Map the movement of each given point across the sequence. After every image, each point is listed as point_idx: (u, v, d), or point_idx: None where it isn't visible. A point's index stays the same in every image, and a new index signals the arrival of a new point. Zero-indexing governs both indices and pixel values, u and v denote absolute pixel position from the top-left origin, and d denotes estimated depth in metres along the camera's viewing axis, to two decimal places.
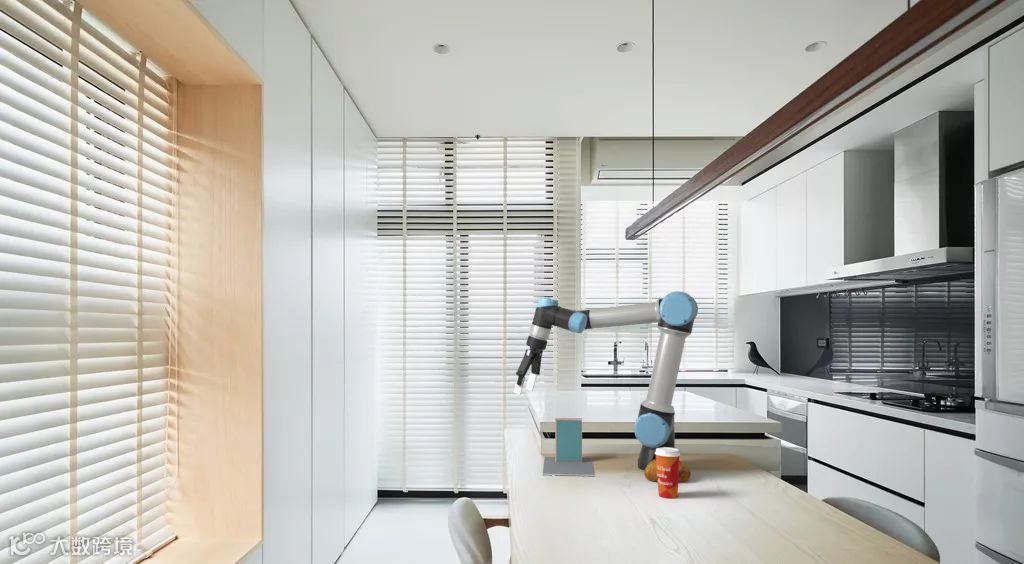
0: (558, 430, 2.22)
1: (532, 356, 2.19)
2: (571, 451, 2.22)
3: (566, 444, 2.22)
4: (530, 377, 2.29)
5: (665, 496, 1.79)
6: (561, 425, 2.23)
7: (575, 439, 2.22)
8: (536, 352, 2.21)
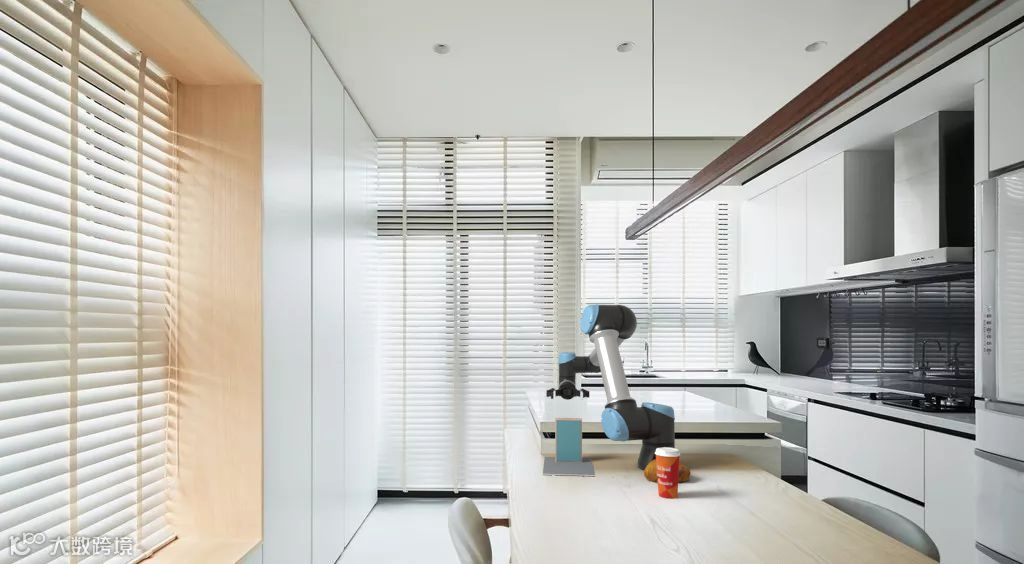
0: (558, 430, 2.22)
1: None
2: (571, 451, 2.22)
3: (566, 444, 2.22)
4: (580, 396, 2.37)
5: (665, 496, 1.79)
6: (561, 425, 2.23)
7: (575, 439, 2.22)
8: (565, 388, 2.49)
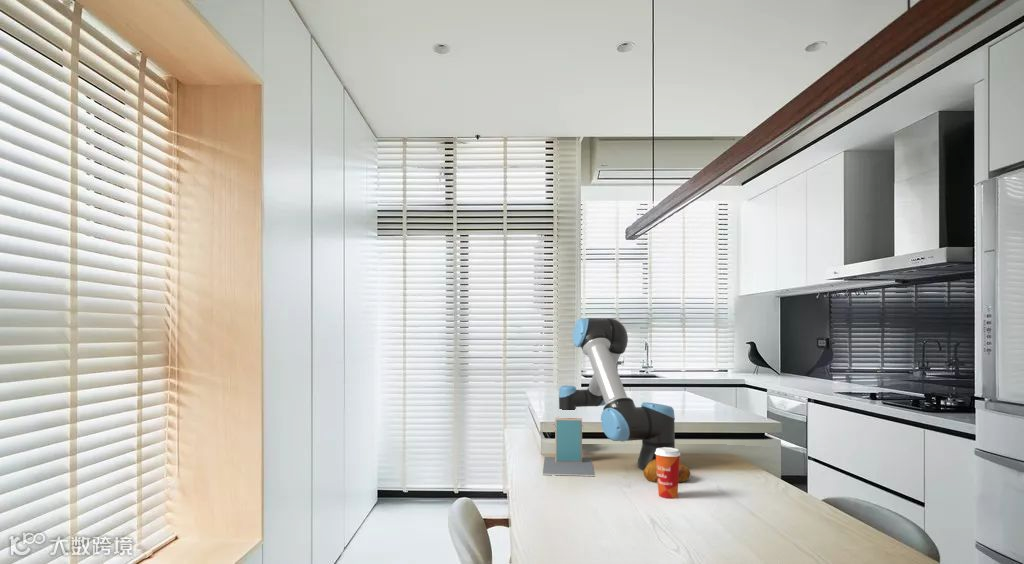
0: (558, 430, 2.22)
1: None
2: (571, 451, 2.22)
3: (566, 444, 2.22)
4: None
5: (665, 496, 1.79)
6: (561, 425, 2.23)
7: (575, 439, 2.22)
8: None
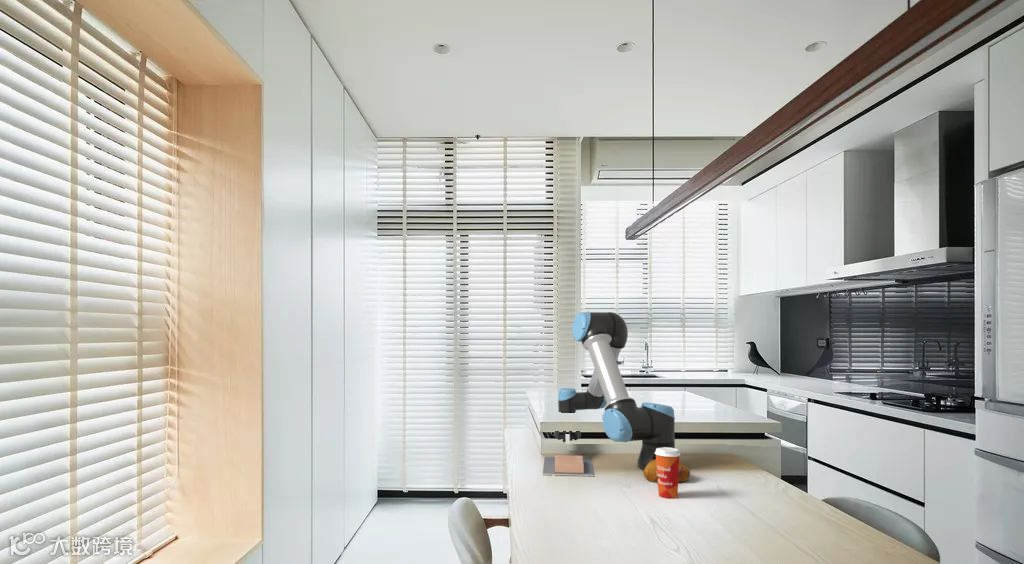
0: None
1: None
2: None
3: None
4: None
5: (665, 496, 1.79)
6: None
7: None
8: None
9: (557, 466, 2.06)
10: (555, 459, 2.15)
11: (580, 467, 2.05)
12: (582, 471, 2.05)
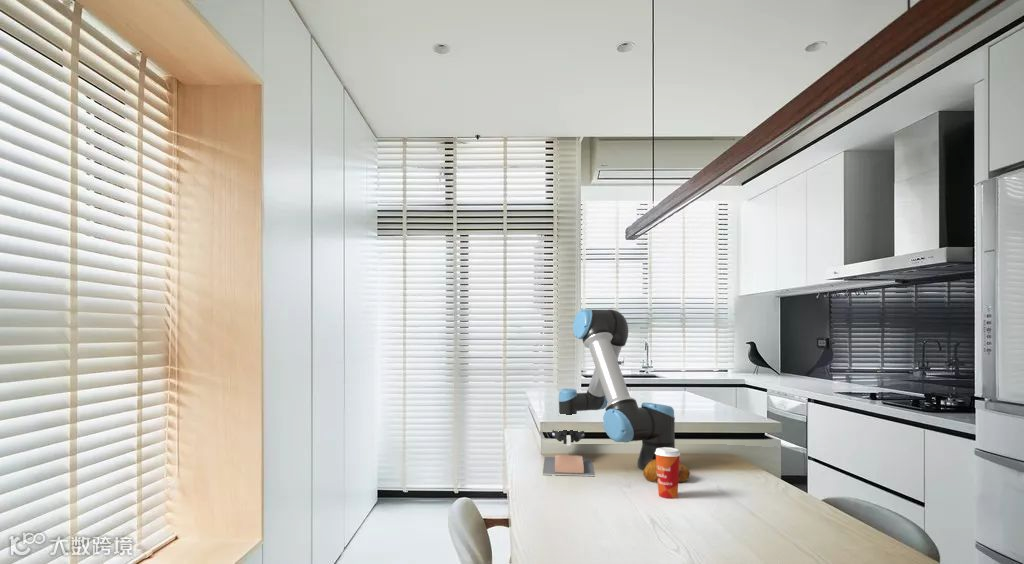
0: None
1: (559, 431, 2.34)
2: None
3: None
4: None
5: (665, 496, 1.79)
6: None
7: None
8: None
9: (557, 466, 2.06)
10: (555, 459, 2.15)
11: (580, 467, 2.05)
12: (582, 471, 2.05)
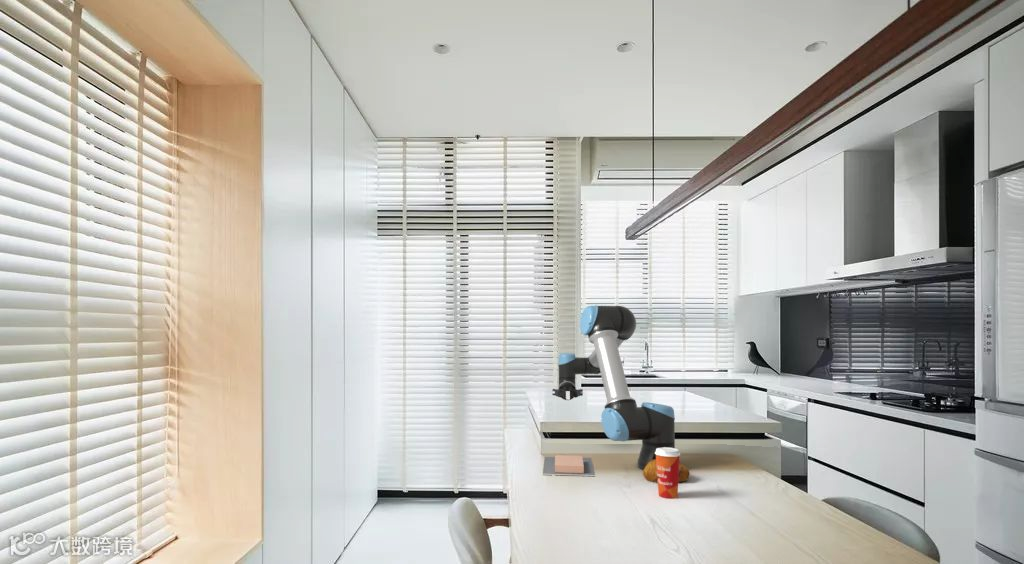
0: None
1: (559, 389, 2.48)
2: None
3: None
4: None
5: (665, 496, 1.79)
6: None
7: None
8: None
9: (557, 466, 2.06)
10: (555, 459, 2.15)
11: (580, 467, 2.05)
12: (582, 471, 2.05)
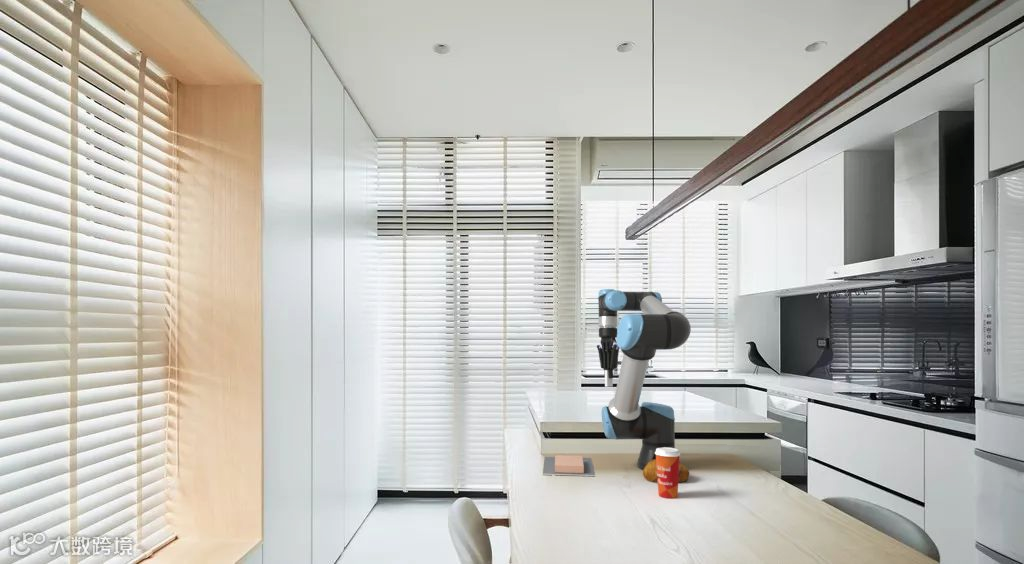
0: None
1: (601, 345, 2.41)
2: None
3: None
4: None
5: (665, 496, 1.79)
6: None
7: None
8: (604, 341, 2.39)
9: (557, 466, 2.06)
10: (555, 459, 2.15)
11: (580, 467, 2.05)
12: (582, 471, 2.05)
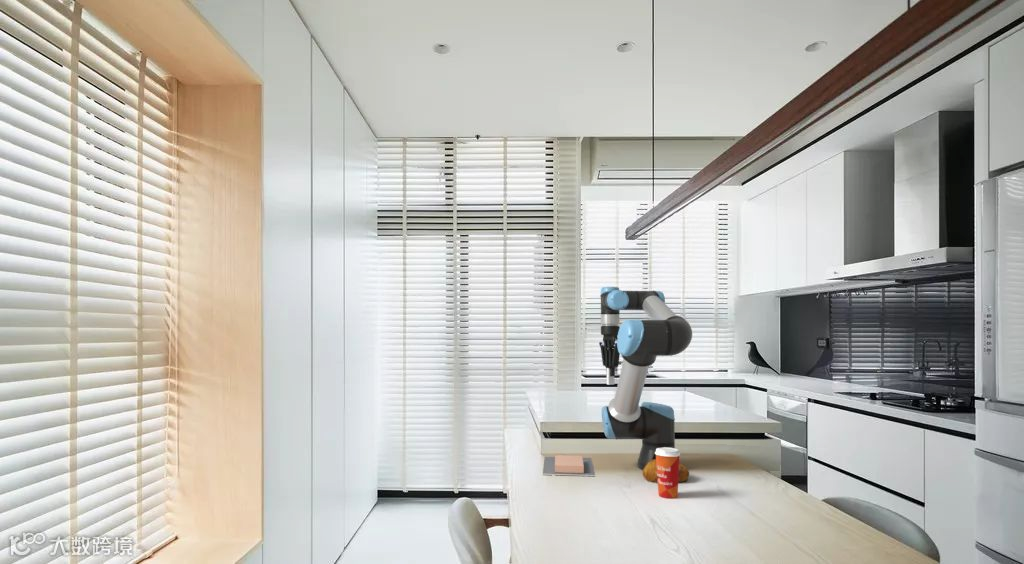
0: None
1: (603, 342, 2.40)
2: None
3: None
4: None
5: (665, 496, 1.79)
6: None
7: None
8: (606, 338, 2.37)
9: (557, 466, 2.06)
10: (555, 459, 2.15)
11: (580, 467, 2.05)
12: (582, 471, 2.05)
